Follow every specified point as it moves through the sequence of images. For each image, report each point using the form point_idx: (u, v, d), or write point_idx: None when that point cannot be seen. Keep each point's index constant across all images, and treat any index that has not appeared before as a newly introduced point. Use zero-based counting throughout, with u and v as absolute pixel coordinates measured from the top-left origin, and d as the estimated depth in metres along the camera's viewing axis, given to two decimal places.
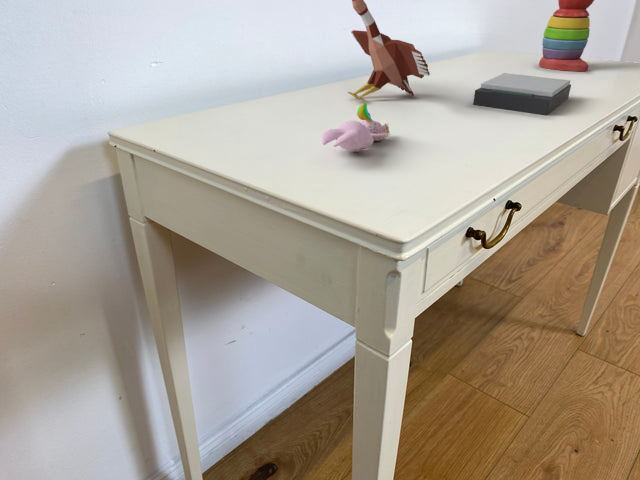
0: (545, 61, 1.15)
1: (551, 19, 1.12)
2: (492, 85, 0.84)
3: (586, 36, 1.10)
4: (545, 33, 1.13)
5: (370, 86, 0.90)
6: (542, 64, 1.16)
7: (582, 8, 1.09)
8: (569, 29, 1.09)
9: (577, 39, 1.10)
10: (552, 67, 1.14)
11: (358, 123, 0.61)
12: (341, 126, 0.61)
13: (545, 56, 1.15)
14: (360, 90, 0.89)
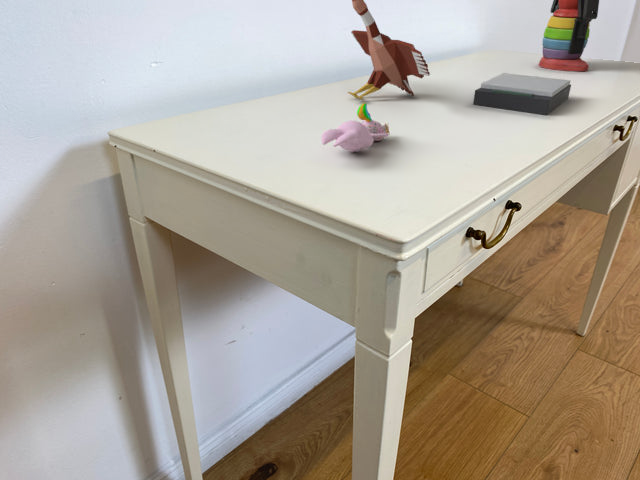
0: (545, 61, 1.15)
1: (551, 19, 1.12)
2: (492, 85, 0.84)
3: (586, 36, 1.10)
4: (545, 33, 1.13)
5: (370, 86, 0.90)
6: (542, 64, 1.16)
7: None
8: (569, 29, 1.09)
9: None
10: (552, 67, 1.14)
11: (358, 123, 0.61)
12: (341, 126, 0.61)
13: (545, 56, 1.15)
14: (360, 90, 0.89)
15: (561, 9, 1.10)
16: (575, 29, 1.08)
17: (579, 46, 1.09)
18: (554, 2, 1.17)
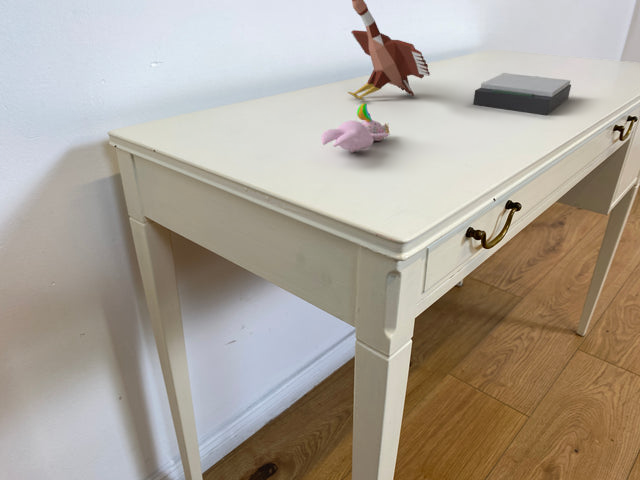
0: None
1: None
2: (492, 85, 0.84)
3: None
4: None
5: (370, 86, 0.90)
6: None
7: None
8: None
9: None
10: None
11: (358, 123, 0.61)
12: (341, 126, 0.61)
13: None
14: (360, 90, 0.89)
15: None
16: None
17: None
18: None
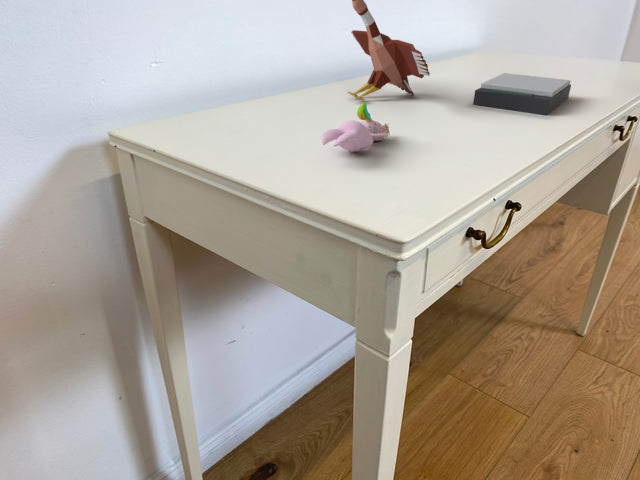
0: None
1: None
2: (492, 85, 0.84)
3: None
4: None
5: (370, 86, 0.90)
6: None
7: None
8: None
9: None
10: None
11: (358, 123, 0.61)
12: (341, 126, 0.61)
13: None
14: (360, 90, 0.89)
15: None
16: None
17: None
18: None
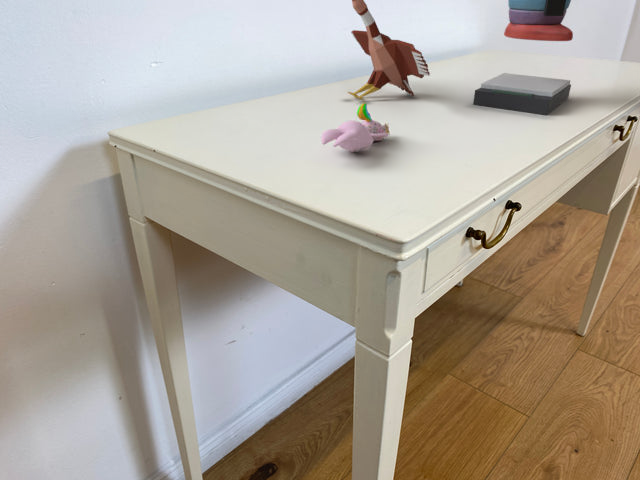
0: (512, 28, 0.81)
1: None
2: (492, 85, 0.84)
3: None
4: None
5: (370, 86, 0.90)
6: (508, 33, 0.82)
7: None
8: None
9: None
10: (521, 37, 0.80)
11: (358, 123, 0.61)
12: (341, 126, 0.61)
13: (512, 21, 0.81)
14: (360, 90, 0.89)
15: None
16: None
17: (559, 4, 0.75)
18: None
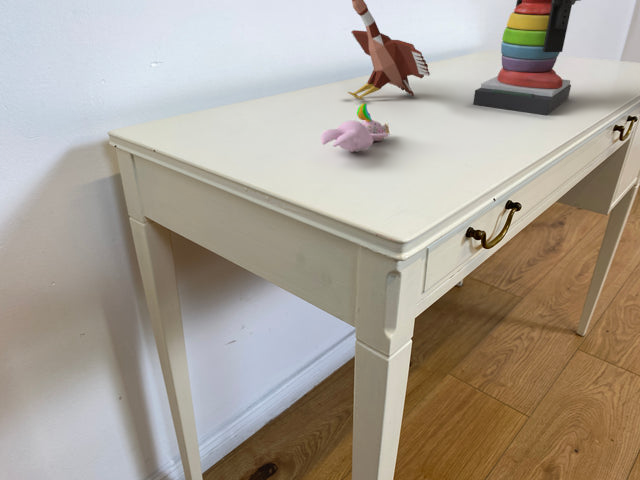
0: (504, 74, 0.84)
1: (511, 17, 0.81)
2: (492, 85, 0.84)
3: None
4: (504, 36, 0.83)
5: (370, 86, 0.90)
6: (501, 78, 0.85)
7: None
8: (535, 31, 0.78)
9: None
10: (513, 83, 0.83)
11: (358, 123, 0.61)
12: (341, 126, 0.61)
13: (505, 67, 0.84)
14: (360, 90, 0.89)
15: (524, 3, 0.80)
16: (552, 16, 0.75)
17: (558, 41, 0.76)
18: None
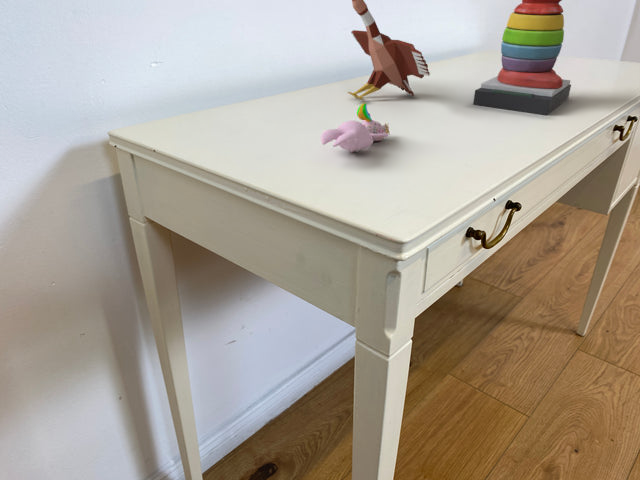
0: (504, 74, 0.84)
1: (511, 17, 0.81)
2: (492, 85, 0.84)
3: (559, 40, 0.80)
4: (504, 36, 0.83)
5: (370, 86, 0.90)
6: (501, 78, 0.85)
7: (553, 2, 0.78)
8: (535, 31, 0.78)
9: (546, 45, 0.79)
10: (513, 83, 0.83)
11: (358, 123, 0.61)
12: (341, 126, 0.61)
13: (505, 67, 0.84)
14: (360, 90, 0.89)
15: (524, 3, 0.80)
16: None
17: None
18: None
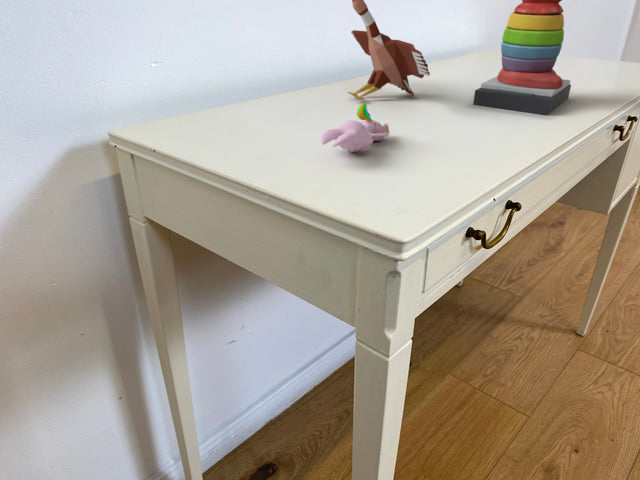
0: (504, 74, 0.84)
1: (511, 17, 0.81)
2: (492, 85, 0.84)
3: (559, 40, 0.80)
4: (504, 36, 0.83)
5: (370, 86, 0.90)
6: (501, 78, 0.85)
7: (553, 2, 0.78)
8: (535, 31, 0.78)
9: (546, 45, 0.79)
10: (513, 83, 0.83)
11: (358, 123, 0.61)
12: (341, 126, 0.61)
13: (505, 67, 0.84)
14: (360, 90, 0.89)
15: (524, 3, 0.80)
16: None
17: None
18: None
